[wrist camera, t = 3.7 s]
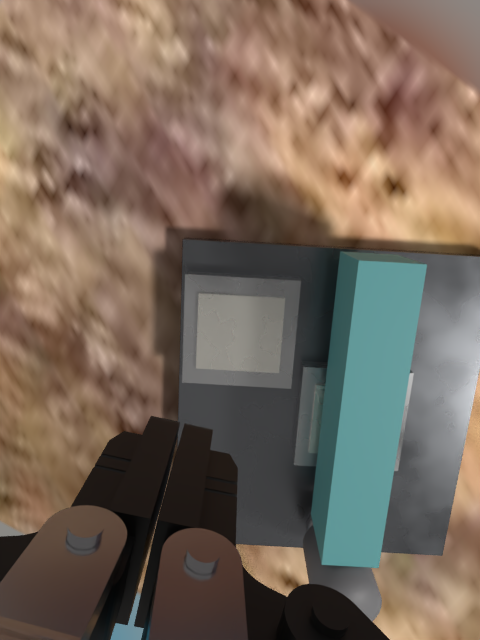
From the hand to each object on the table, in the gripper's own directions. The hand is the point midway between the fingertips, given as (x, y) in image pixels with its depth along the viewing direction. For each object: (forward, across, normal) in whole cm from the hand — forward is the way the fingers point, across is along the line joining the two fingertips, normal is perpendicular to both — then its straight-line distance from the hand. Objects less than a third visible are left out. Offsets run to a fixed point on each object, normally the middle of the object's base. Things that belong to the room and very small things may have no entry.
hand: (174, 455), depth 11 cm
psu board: (+17, -8, +5) cm, 19 cm away
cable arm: (+14, -9, +4) cm, 17 cm away
